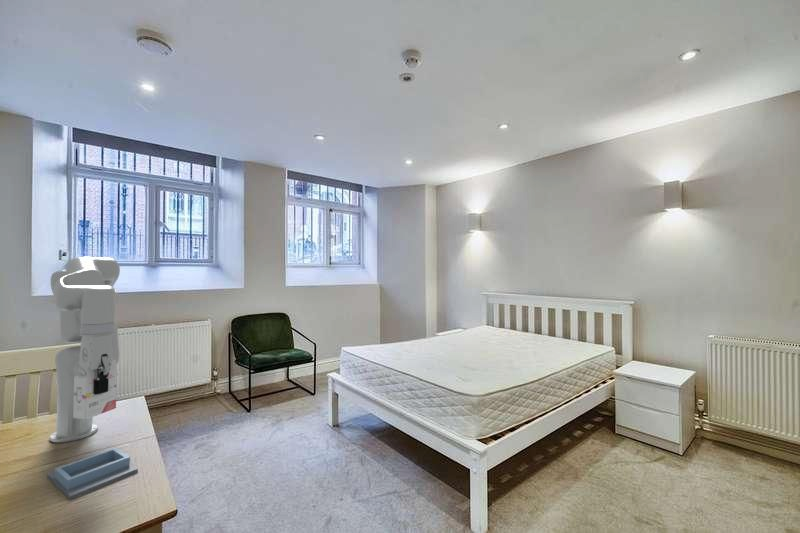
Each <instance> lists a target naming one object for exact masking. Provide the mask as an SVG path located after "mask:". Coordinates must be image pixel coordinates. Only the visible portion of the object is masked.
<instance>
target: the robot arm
mask: <svg viewBox="0 0 800 533" xmlns="http://www.w3.org/2000/svg"><path fill="white" fill-rule="evenodd" d="M120 268H121V267H120V264H119V263H118V260H116V259H114V258H111V257H96V256H78V257H74V258H71V259H70V260H68V261H67V263H66V265H65V269H61V270H60V269H59V270H57V271H54V272H53V273H52V274H51V277H50V289H51V291H52V294H53V300H54V304H55V306H56V307H57V309H58V310H59V321H60V322H59V323H60V324H59V328H60V332H59V333H60V338H61V340H62V342H63V343H65V344H79V343H80V345H76V346H75V345H74V346H70V347H66V348H63V349H61V350H59V351H58V352H57V353H56V355H55V358H54V363H55V364H54V365H55V371H56V376H57V396H56V398H57V399H56V400H57V402H56V427H55V428H56V430H55V431H54V432H53V433H51V434H50V436H49V441H50V442H53V443H68V442H73V441H79V440H81V439H84V438H86V437H89V436H92V435H93V434H95V433H96V432H97V431H99V430H98V429H99V426H98V425H97V424H95V423H93V420H94V418H93V417H91V418H89V419H79V418H73V403H74V377H75V376H79V375H83V374H87V367H89V371H94V369H95V379H96V380H94V394H95V395H96V394H101V393H105V392H108V380H109V371H110V369H111V368H110V367H111V366H112V361H114V360H115V361H116V366H117V365H118V364H119V361H120V343H119V329H118V328H119V327H118V322H117V320H116V304H117V303H118V298H119V296H118V294H119V292H118V291H117V290H116V288H114V285H115V284H116V282H117V281H118V279H119V276H120V272H121V269H120ZM98 367H100V368H98ZM99 371H102V372H100V374H99Z"/></svg>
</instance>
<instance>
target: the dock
mask: <svg viewBox="0 0 800 533" xmlns="http://www.w3.org/2000/svg"><path fill="white" fill-rule="evenodd" d="M130 460H131V456H129V455H128V454H127V453H124V451H122V450H120V449H118V448H117V447H113V448H111V449H108V450H105V451H101V452H99V453H96V454H94V455H90V456H88V457H84V458H82V459H79V460H76V461H73V462H71V463H68V464H65V465H61V466H59V467H56V468H54V471H52V472H50V473H47V474H46V475H47V479H48V480H49V481H51V483H52V484H53V485H54V486H56V488H57V489H59V491H60V492H62V493H63V495H65V497H66V498H68V499H69V501H70V500H73V499H76V498H78V497H81V496H83V495H87V494H88V493H90V492H93V491H96V490H99V489H100V488H102V487H105V486H108V485H110V484H113V483H115V482H117V481H119V480H122V479H123V478H126V477H129V476H132V475H133V474H137V473H138V472H139V471H138V467H136V466H135V465H133V464H131V461H130Z"/></svg>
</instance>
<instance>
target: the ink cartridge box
mask: <svg viewBox="0 0 800 533" xmlns="http://www.w3.org/2000/svg"><path fill="white" fill-rule="evenodd" d="M98 368H100V367H98ZM110 368H111V369H110V371H109V380H108V392H105V393H101V394H96V395H95V394H94V380H96V379H95V369H94V371H89V367H87V374H83V375H79V376H75V377H74V403H73V418H79V419H89V418H91V417H96V416H98V415H101V414H104V413H107V412H110V411H112V410H115V409H116V408H117V385H118V384H117V383H118V382H117V380H118V370H117V365H116V361H115V360H114V361H112V366H111V367H110ZM100 372H102V371H99V374H100Z"/></svg>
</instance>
